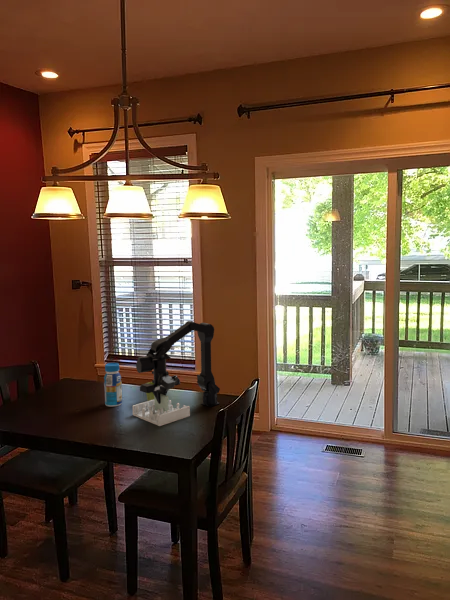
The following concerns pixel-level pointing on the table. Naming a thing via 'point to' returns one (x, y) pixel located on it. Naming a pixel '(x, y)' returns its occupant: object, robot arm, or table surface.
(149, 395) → the plant pot
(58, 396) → the table surface
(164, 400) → the green square slab
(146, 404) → the dish rack
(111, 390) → the beverage bottle
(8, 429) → the table surface
